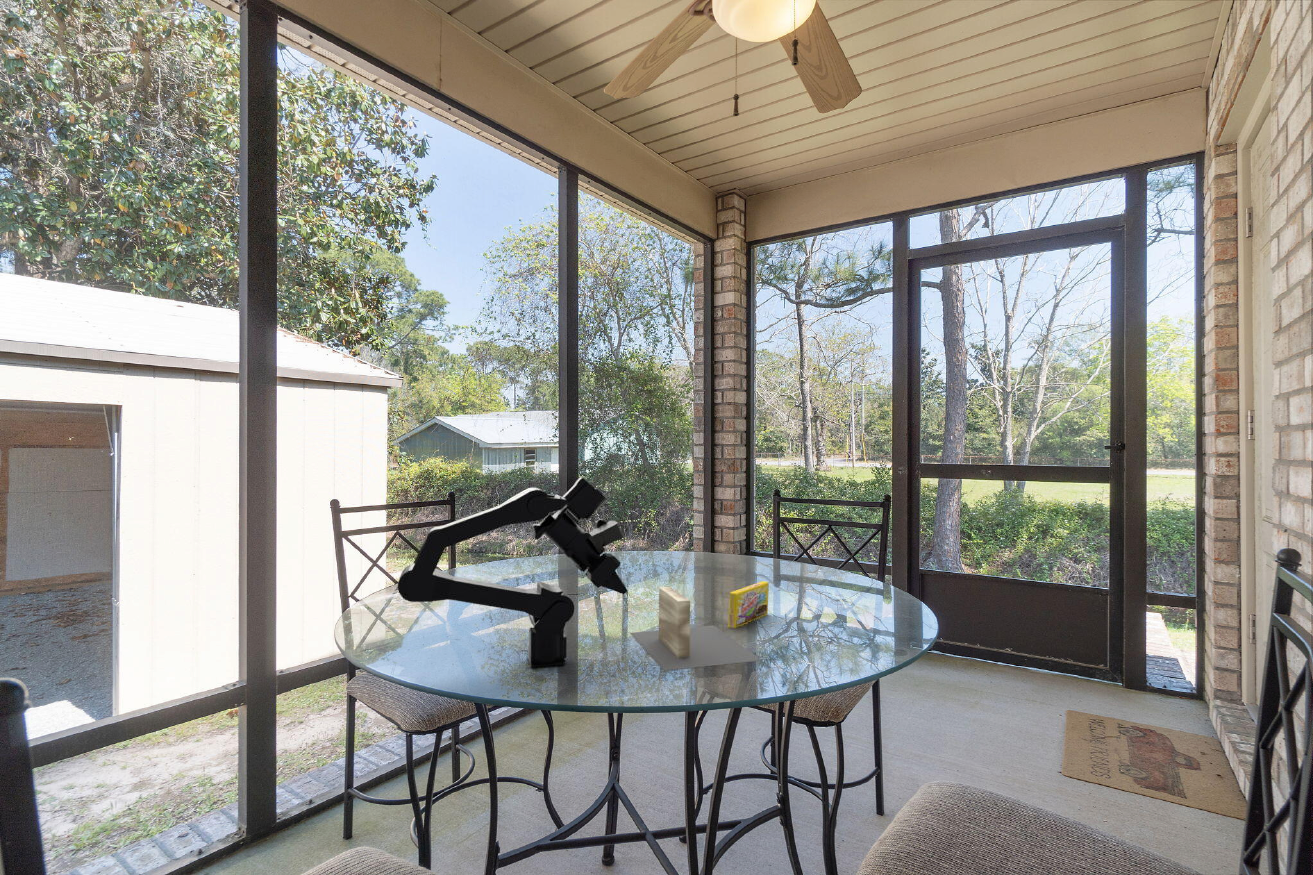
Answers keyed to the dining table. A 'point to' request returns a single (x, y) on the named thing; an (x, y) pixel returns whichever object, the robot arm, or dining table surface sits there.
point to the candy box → (748, 604)
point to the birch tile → (674, 621)
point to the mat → (696, 649)
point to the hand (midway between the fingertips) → (624, 590)
